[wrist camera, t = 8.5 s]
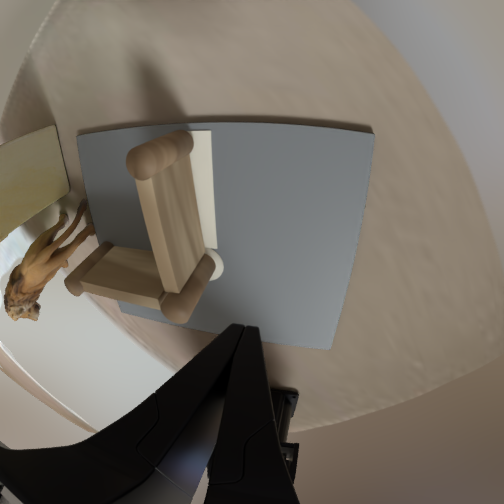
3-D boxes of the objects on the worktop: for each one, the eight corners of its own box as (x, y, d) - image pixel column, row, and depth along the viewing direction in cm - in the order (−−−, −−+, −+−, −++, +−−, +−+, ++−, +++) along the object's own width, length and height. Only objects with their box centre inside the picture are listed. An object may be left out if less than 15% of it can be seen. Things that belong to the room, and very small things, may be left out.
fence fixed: (217, 275, 22) (191, 326, 18) (105, 258, 24) (69, 294, 20) (215, 253, 21) (186, 303, 17) (99, 239, 23) (60, 275, 19)
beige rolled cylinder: (191, 128, 16) (152, 144, 12) (210, 252, 21) (185, 294, 17) (166, 131, 17) (122, 148, 13) (188, 251, 21) (159, 291, 17)
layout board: (330, 346, 25) (329, 350, 24) (123, 309, 28) (120, 312, 28) (373, 133, 15) (375, 134, 14) (79, 135, 19) (75, 136, 18)
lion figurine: (67, 288, 30) (24, 338, 22) (40, 259, 28) (-7, 303, 21) (107, 216, 22) (36, 277, 15) (70, 176, 21) (-6, 223, 14)
